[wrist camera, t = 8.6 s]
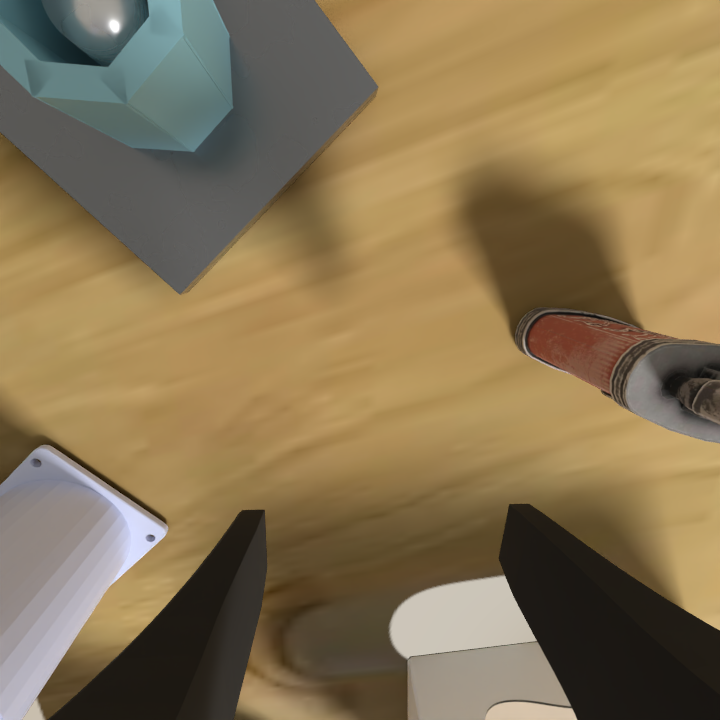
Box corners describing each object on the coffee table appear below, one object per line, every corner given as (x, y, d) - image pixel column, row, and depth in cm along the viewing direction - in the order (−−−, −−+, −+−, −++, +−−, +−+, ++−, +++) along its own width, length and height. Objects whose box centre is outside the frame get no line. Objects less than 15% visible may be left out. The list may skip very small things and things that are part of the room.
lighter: (505, 356, 19) (677, 462, 10) (528, 295, 18) (743, 345, 9) (632, 386, 20) (895, 506, 11) (660, 330, 20) (974, 408, 10)
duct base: (188, 292, 17) (132, 309, 12) (-65, 60, 14) (-277, -41, 9) (375, 97, 15) (396, 27, 10) (136, -222, 12) (7, -537, 7)
